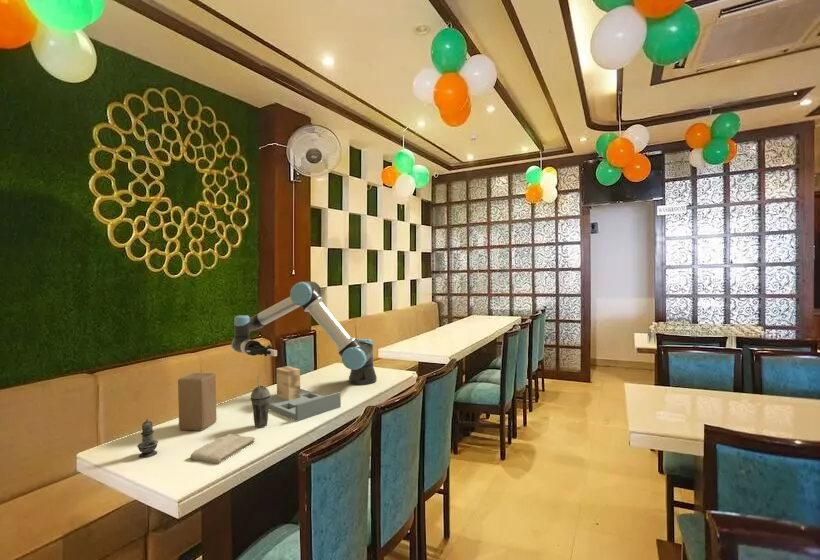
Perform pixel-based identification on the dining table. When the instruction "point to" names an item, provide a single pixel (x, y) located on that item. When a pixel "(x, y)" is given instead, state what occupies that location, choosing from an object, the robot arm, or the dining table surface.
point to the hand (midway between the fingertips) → (275, 353)
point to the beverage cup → (260, 405)
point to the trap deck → (305, 404)
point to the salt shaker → (147, 441)
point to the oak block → (288, 383)
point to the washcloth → (222, 448)
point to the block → (197, 401)
